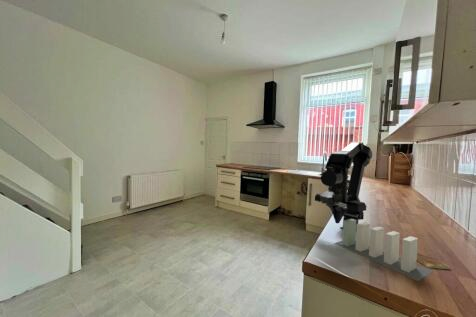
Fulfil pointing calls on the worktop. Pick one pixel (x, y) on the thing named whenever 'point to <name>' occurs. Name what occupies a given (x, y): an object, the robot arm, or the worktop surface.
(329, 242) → the worktop surface
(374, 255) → the ivory domino
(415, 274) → the mat
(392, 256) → the ivory domino
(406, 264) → the ivory domino
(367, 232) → the ivory domino
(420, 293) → the worktop surface
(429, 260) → the shard
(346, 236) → the sage domino
